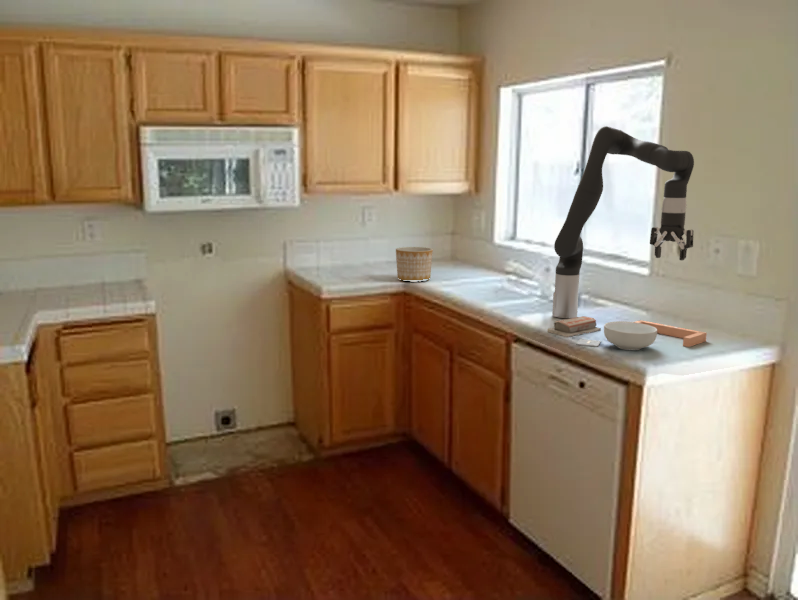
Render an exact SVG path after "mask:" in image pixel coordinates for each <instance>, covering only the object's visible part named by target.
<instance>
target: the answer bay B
mask: <svg viewBox="0 0 798 600" xmlns="http://www.w3.org/2000/svg"><path fill="white" fill-rule="evenodd" d="M634 322H635V323H642V324H646V325H650V326H653V327H655V328H656V329H657V334H661V335H666V336H670V337H675V338H680V339H683V341H682V346H683V347H686V348H691V347H693V346H695V345H699V344H702V343H705V342H706V341H707V335H708V334H707V332H705V331H700V330H694V329H689V328H688V329H687V328H682V327H679V326H673V325H669V324H662V323H656V322H651V321H648V320H641V319H640V320H635V321H634Z"/></svg>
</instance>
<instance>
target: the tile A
mask: <svg viewBox="0 0 798 600" xmlns="http://www.w3.org/2000/svg"><path fill="white" fill-rule="evenodd" d="M600 342H601V343H602V341H601V340H594V339H585V338H579V339H578V341H577V342H576V345H577V346H584V347H592V348H593V347H594V348H598V347H599V345H600V344H601V343H600Z"/></svg>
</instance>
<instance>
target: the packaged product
mask: <svg viewBox="0 0 798 600" xmlns="http://www.w3.org/2000/svg"><path fill="white" fill-rule="evenodd" d="M553 324H554V326H553V327H548V328H547V332H548V333H551V334H555V335H557V336H563V337H566V338H570V336H571V337H573V336H574V335H575V336H579V335H578V334H581V335H584V334H583V333H586V334H589V332H590V333H594V332H599V331H601V330H602V329H601V328H600V327H596V326H597V319H595V318H594V317H590V316H583V315H582V316H577V317H576V318H564V319H561V320H556V321H554V323H553ZM598 330H599V331H598Z"/></svg>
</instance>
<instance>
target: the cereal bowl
mask: <svg viewBox="0 0 798 600" xmlns="http://www.w3.org/2000/svg"><path fill="white" fill-rule="evenodd" d="M635 322H636V321H622V320H621V321H620V320H619V321H609V322H607V323H604V325H603V334H604V337H605V339H606V340H607V341H608V342H609V343H611V344H612V345H614V346H616V347H617V348H618V349H620V350H626V351H640V350H642V349H643V348H647V347H650V346H651V345H652V344H653V343H654V342H655V341H656V339H657V335H658V333H657V329H656V328H655V327H653V326H650V325H646V324H642V323H635Z"/></svg>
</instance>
